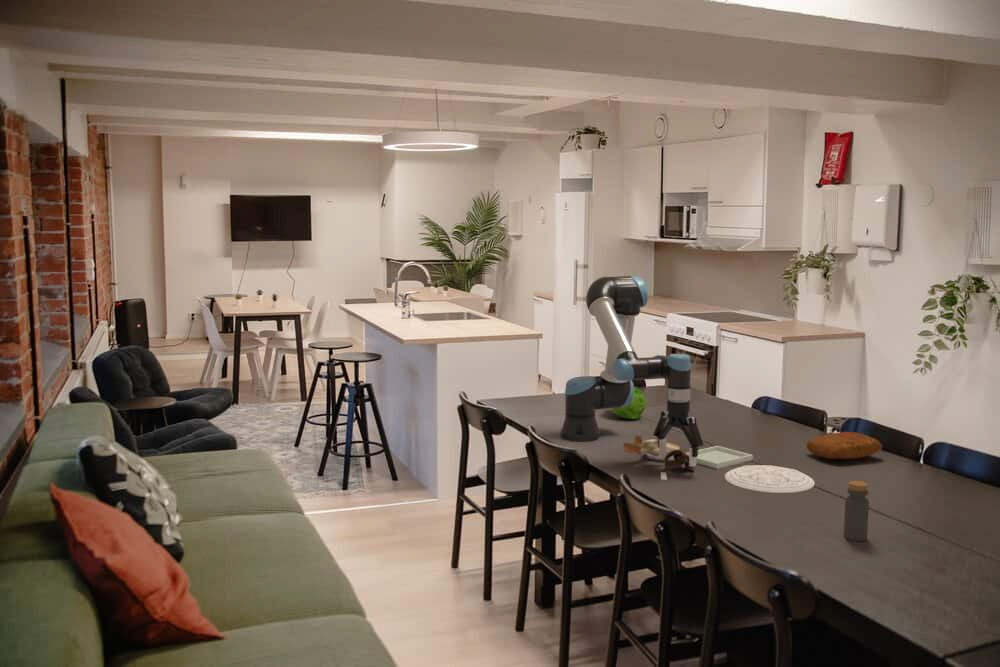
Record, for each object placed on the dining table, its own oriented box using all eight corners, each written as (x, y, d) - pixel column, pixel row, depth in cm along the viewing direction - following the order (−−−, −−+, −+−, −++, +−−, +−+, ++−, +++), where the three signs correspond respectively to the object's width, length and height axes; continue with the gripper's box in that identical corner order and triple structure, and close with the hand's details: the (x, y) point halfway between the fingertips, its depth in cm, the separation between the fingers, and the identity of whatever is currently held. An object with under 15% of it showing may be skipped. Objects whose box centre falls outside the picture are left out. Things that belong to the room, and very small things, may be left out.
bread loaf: (852, 449, 328) (854, 428, 327) (885, 461, 312) (887, 439, 311) (801, 454, 322) (802, 433, 320) (832, 467, 305) (833, 444, 304)
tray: (681, 459, 316) (681, 453, 315) (717, 451, 327) (717, 445, 326) (716, 469, 303) (717, 463, 302) (752, 460, 314) (752, 455, 313)
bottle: (839, 534, 241) (842, 480, 239) (860, 533, 242) (863, 479, 240) (849, 541, 235) (852, 486, 233) (871, 541, 236) (874, 486, 234)
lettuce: (596, 418, 390) (627, 420, 395) (619, 417, 369) (651, 420, 374) (597, 385, 392) (628, 387, 397) (620, 382, 371) (653, 385, 375)
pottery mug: (698, 476, 297) (688, 456, 294) (672, 487, 299) (662, 467, 297) (693, 457, 308) (683, 439, 306) (668, 468, 310) (658, 449, 308)
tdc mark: (660, 472, 299) (660, 472, 299) (666, 473, 299) (666, 472, 299) (661, 479, 291) (661, 479, 291) (666, 480, 291) (666, 479, 291)
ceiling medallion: (814, 473, 299) (814, 464, 299) (814, 498, 273) (815, 488, 273) (728, 466, 309) (728, 457, 308) (721, 489, 282) (721, 479, 282)
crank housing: (640, 456, 320) (640, 450, 319) (661, 451, 326) (661, 445, 326) (662, 463, 311) (662, 456, 310) (684, 458, 317) (684, 451, 317)
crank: (661, 444, 326) (662, 425, 325) (686, 451, 317) (687, 432, 316) (618, 453, 314) (618, 434, 313) (642, 461, 304) (643, 441, 303)
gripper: (643, 396, 307) (643, 455, 310) (699, 407, 287) (698, 471, 290) (659, 393, 312) (658, 452, 314) (714, 404, 292) (713, 467, 294)
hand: (677, 461), depth 302 cm, fingers open, 13 cm apart
